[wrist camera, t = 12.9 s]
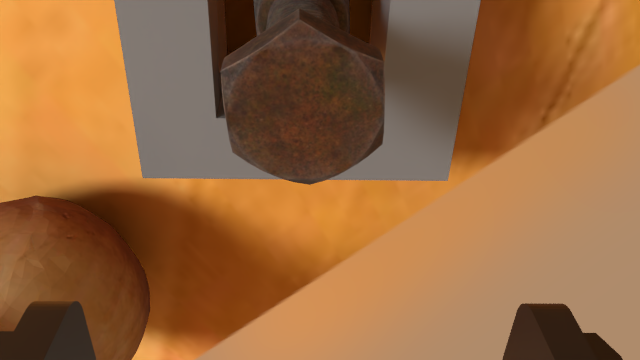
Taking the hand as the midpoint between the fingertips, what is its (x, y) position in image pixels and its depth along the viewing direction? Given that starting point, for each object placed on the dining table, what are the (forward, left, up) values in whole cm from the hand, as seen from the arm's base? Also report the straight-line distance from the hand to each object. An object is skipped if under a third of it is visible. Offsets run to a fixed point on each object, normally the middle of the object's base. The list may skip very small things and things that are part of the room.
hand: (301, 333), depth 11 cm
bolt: (0, 0, -24) cm, 24 cm away
